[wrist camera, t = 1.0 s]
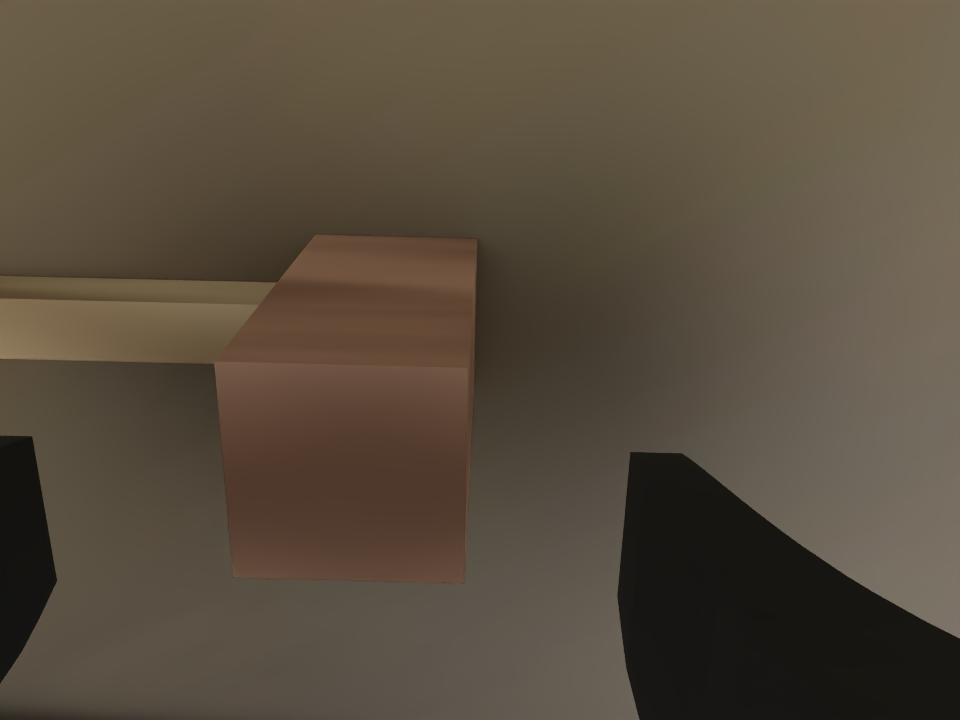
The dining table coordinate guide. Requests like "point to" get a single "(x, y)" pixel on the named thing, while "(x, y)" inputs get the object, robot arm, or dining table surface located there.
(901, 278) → the dining table surface
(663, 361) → the dining table surface
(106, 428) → the dining table surface
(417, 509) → the push blade
